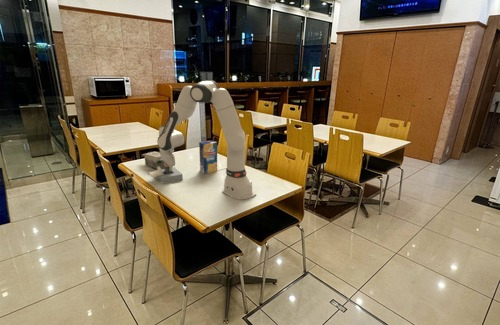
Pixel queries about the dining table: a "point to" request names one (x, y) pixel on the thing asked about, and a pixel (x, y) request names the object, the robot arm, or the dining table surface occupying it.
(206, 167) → the blue cracker box
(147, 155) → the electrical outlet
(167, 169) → the plug
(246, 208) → the dining table surface
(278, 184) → the dining table surface
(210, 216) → the dining table surface
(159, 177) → the socket
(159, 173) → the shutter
